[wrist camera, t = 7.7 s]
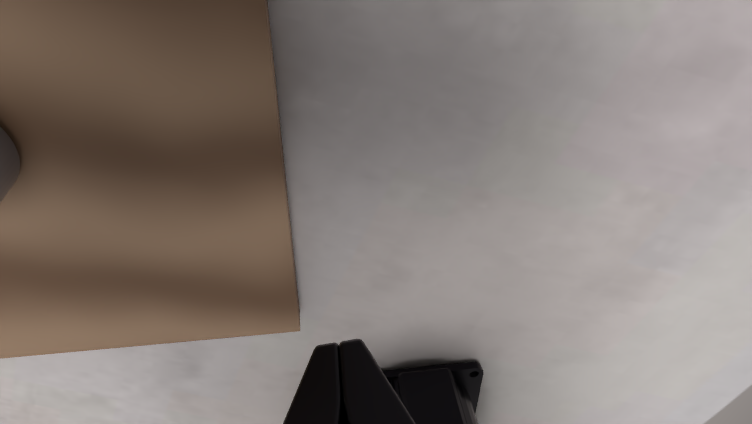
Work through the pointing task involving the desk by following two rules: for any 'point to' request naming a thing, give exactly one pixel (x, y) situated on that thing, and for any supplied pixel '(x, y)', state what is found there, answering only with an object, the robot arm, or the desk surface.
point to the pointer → (7, 163)
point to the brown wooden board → (141, 176)
